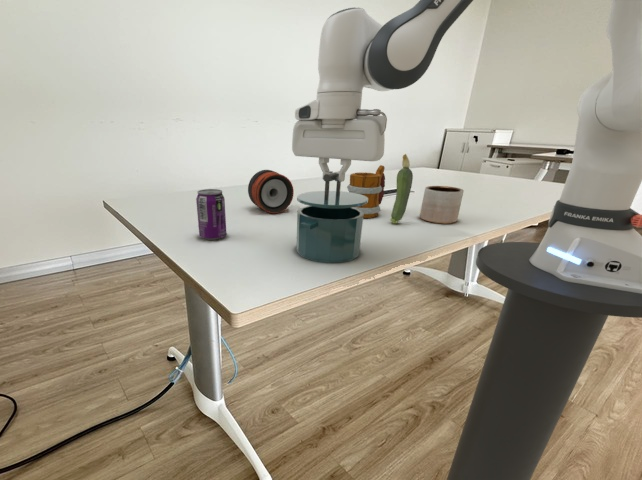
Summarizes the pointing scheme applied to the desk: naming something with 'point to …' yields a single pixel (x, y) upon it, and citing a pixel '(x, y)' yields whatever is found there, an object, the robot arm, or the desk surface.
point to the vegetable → (402, 190)
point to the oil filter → (270, 191)
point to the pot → (329, 234)
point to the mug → (369, 190)
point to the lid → (332, 197)
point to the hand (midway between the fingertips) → (333, 180)
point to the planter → (441, 204)
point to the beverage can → (211, 214)
